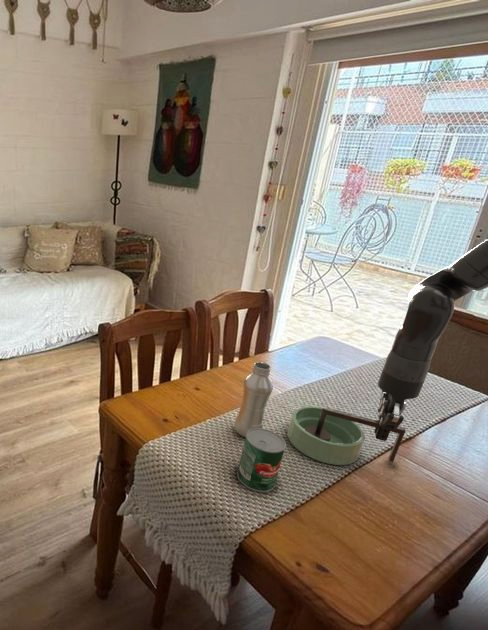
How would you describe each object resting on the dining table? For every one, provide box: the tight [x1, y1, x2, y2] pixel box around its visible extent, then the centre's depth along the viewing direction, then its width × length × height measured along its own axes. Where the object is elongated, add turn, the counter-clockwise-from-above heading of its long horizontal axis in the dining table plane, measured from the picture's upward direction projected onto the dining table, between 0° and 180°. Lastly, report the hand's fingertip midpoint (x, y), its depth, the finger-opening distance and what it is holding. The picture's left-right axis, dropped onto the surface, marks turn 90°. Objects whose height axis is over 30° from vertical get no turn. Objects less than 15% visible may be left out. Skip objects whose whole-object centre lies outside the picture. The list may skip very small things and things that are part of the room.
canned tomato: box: [236, 428, 287, 493], centre depth 95 cm, size 8×8×11 cm
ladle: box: [305, 406, 407, 463], centre depth 105 cm, size 19×6×9 cm, turn 62°
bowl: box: [286, 405, 366, 466], centre depth 108 cm, size 16×16×6 cm
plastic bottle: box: [234, 361, 274, 438], centre depth 108 cm, size 6×7×20 cm
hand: (380, 436), depth 102 cm, fingers closed on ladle, 1 cm apart
